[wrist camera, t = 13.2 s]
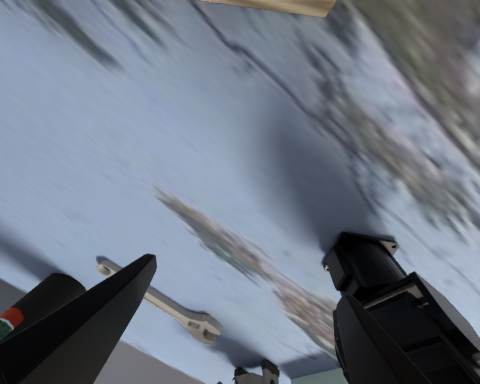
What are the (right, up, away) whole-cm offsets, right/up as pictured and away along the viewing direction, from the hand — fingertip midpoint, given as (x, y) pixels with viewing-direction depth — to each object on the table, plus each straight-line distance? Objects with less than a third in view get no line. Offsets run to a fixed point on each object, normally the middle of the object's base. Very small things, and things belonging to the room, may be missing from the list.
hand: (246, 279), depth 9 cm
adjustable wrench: (-13, -15, +25) cm, 31 cm away
